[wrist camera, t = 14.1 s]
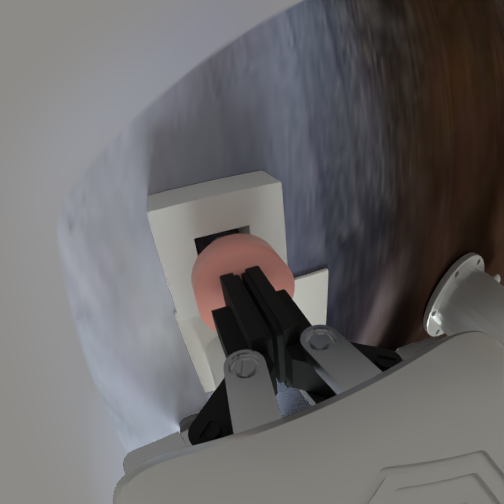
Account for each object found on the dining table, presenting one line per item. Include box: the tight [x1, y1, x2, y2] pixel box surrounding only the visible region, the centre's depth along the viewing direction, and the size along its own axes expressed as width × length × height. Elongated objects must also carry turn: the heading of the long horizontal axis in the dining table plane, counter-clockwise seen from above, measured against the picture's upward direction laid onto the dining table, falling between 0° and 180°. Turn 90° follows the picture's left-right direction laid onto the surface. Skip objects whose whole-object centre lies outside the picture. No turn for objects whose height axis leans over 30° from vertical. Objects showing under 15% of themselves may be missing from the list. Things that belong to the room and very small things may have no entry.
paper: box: [174, 268, 328, 393], centre depth 24 cm, size 12×10×1 cm
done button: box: [191, 233, 295, 332], centre depth 15 cm, size 4×4×5 cm
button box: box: [147, 171, 287, 321], centre depth 18 cm, size 7×7×3 cm
